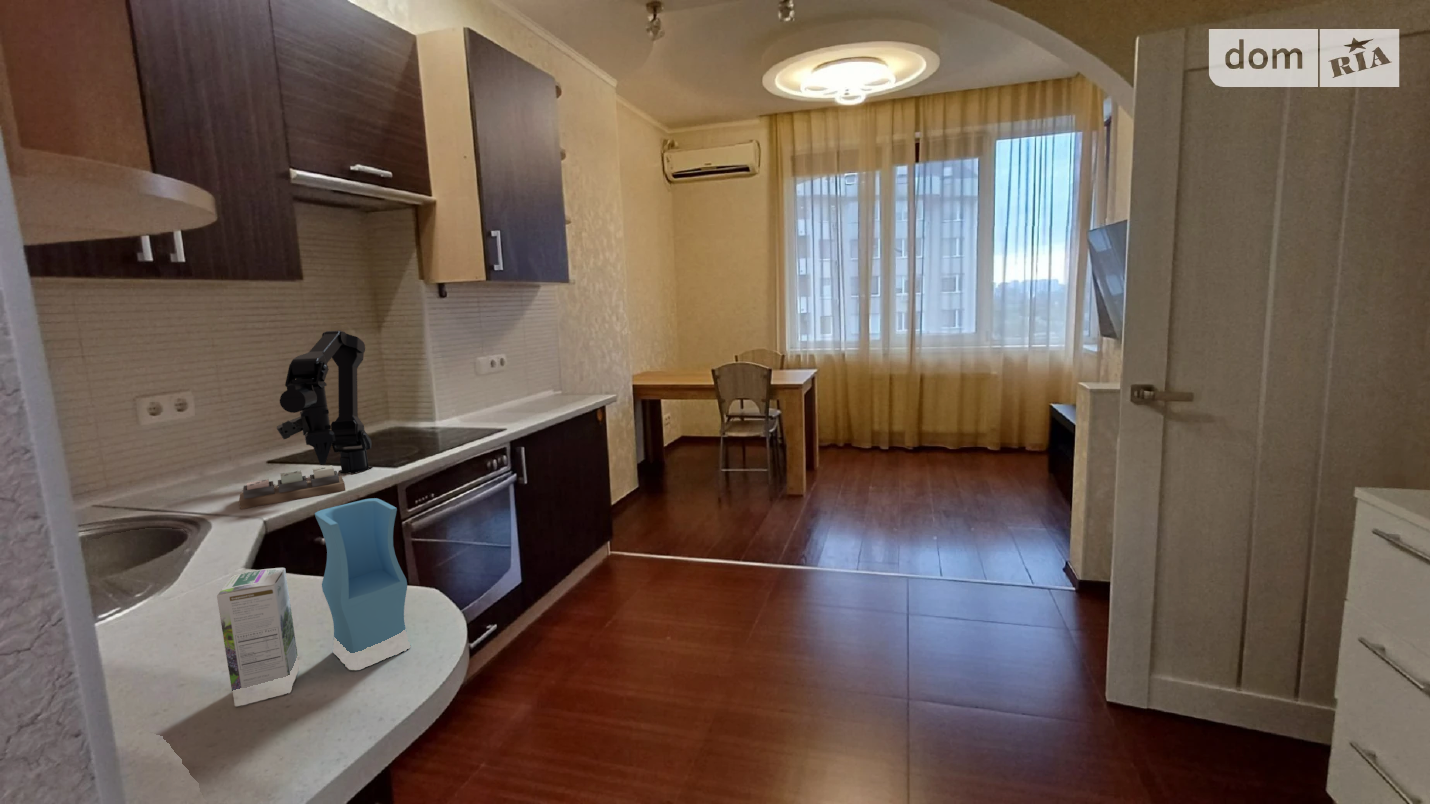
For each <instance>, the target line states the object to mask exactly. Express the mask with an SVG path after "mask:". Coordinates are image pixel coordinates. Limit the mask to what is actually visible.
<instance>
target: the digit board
mask: <svg viewBox="0 0 1430 804" xmlns="http://www.w3.org/2000/svg"><path fill="white" fill-rule="evenodd" d="M337 471H338V470H334V474H335V475H334V476H328V477H322V478H316V479H315V478H314V473H313V474H309V477H310V478H309V479H310V480H309V481H307V477H306V475H302V479H303V481H298V482H292V483H286V484H282V482H281V479H277V486H274V480H272V481H270V480H269V485H270V486H268V487H262V488H256V489H250V490H247V484H246V485H243V488H242V489H243V490H242V492H240V493H239V499H238V504H239V509H240V510H245V509H250V508H256V507H261V506H266V505H272V504H277V503H284V502H288V501H294V500H300V499H305V498H310V497H317V496H321V495H326V494H333V493H337V492H343V491H346V483H345V481H344V479H343V477H342V475H339V474H338V473H339V472H337Z"/></svg>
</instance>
